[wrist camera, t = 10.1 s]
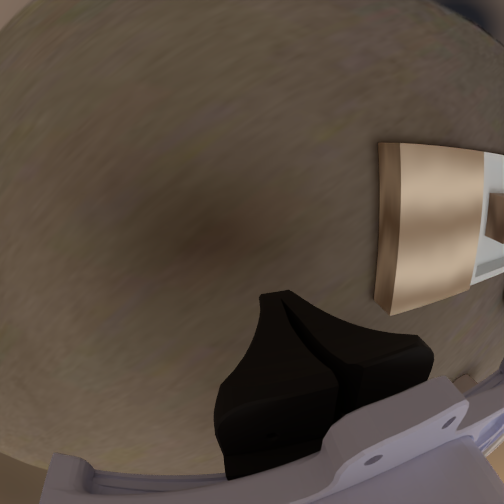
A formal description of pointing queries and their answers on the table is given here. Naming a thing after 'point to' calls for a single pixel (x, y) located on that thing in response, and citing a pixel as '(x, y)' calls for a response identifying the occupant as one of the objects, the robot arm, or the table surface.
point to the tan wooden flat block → (426, 223)
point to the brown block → (495, 217)
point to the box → (488, 251)
